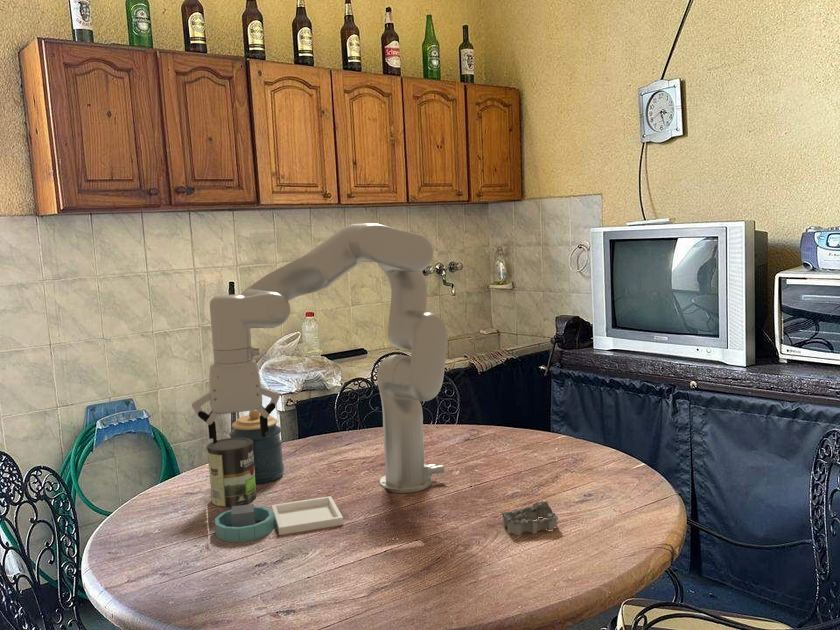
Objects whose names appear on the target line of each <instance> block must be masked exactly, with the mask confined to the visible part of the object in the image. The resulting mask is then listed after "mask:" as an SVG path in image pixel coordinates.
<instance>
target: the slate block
mask: <svg viewBox="0 0 840 630" xmlns="http://www.w3.org/2000/svg"><path fill="white" fill-rule="evenodd" d="M254 506H255V504H254V503H248V504H246V505H240V506H232V507H231V509H232V510H231V509H230V510H231V520H232V524H231V527H243V526H250V525H254V524H256V520H255V514H254Z"/></svg>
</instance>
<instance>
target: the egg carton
mask: <svg viewBox="0 0 840 630" xmlns="http://www.w3.org/2000/svg"><path fill="white" fill-rule="evenodd" d="M500 514H501V516H502V526H503V525H504V526H508V527H507V533H508V534H510V533H514V534H513V535H515V534H516V536H521V535H522V533H525V532H524V531H530V532H529V533H531V532H532V533H531V534H538V532H539V531H540V530H539V529H547V530H555V529H553V528H554V527H558V522H557V520H559V518H558V515H556V513H555V512H553V510H552V507H551V506H550V504H549V502H548V500H546V501H543V500H542V501H540V502H535V503H533V504H532V506H527V505H526V506H525V507H523V508H520V509H519V508H515V509H512V510H510V511H500ZM538 517H543V518H547V519H538ZM536 519H538V520H537V521H533V520H536ZM504 526H503V527H504ZM538 530H539V531H538ZM547 530H546V531H547ZM537 531H538V532H537ZM535 532H536V533H535ZM520 534H521V535H520Z"/></svg>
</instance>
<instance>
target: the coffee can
mask: <svg viewBox="0 0 840 630" xmlns="http://www.w3.org/2000/svg"><path fill="white" fill-rule="evenodd" d="M206 449H207V456H208V458H207V459H208V469H209V470H208V471H209V479H210V480H209V481H210V482H209V483H210V495H211V504H212V505H213V506H215V507H218V508H232V506H240V505H249V504H252V502H254V501H255V500H256V499H257V489H256V487H257V486H256V485H257V484H255V470H254V455H253V440H251V439H249V438H231V437H228V438H227V437H226V438H221V439H217V443H215V444H213V441H212V442H210V443H208V444H207V445H206Z"/></svg>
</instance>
